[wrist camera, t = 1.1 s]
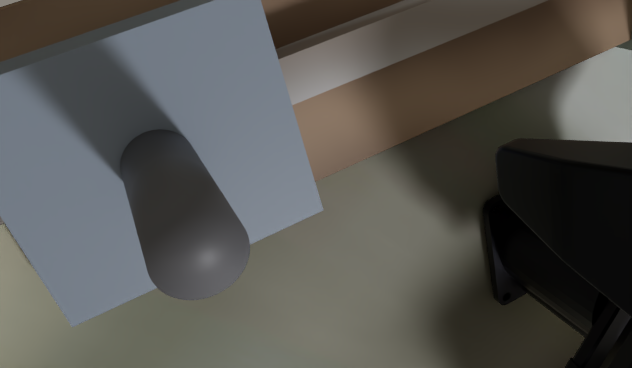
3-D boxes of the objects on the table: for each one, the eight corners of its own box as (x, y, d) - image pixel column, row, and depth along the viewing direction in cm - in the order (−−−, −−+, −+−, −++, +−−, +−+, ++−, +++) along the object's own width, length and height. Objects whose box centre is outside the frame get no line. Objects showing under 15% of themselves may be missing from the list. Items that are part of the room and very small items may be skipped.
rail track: (612, 36, 26) (655, 43, 24) (54, 283, 20) (54, 319, 18) (614, -190, 22) (667, -202, 20) (-101, 40, 15) (-123, 54, 14)
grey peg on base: (287, 172, 20) (407, 296, 13) (69, 268, 19) (77, 470, 12) (223, -23, 17) (340, 6, 10) (-51, 70, 15) (-143, 186, 8)
